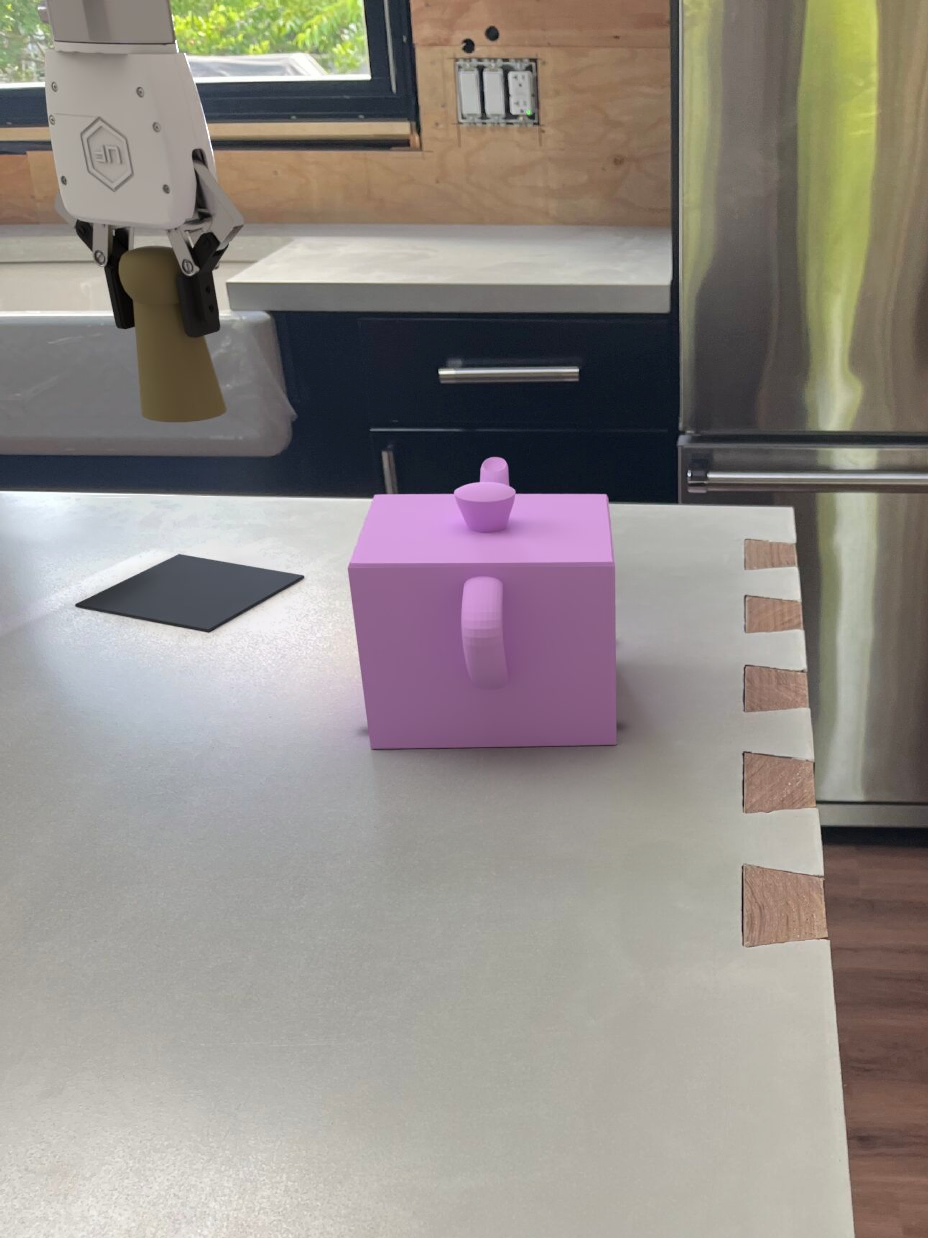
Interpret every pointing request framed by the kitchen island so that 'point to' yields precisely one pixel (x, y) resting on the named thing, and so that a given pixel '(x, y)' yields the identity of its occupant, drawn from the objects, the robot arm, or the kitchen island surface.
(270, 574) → the mat
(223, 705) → the kitchen island surface
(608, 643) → the teapot
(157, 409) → the cork
